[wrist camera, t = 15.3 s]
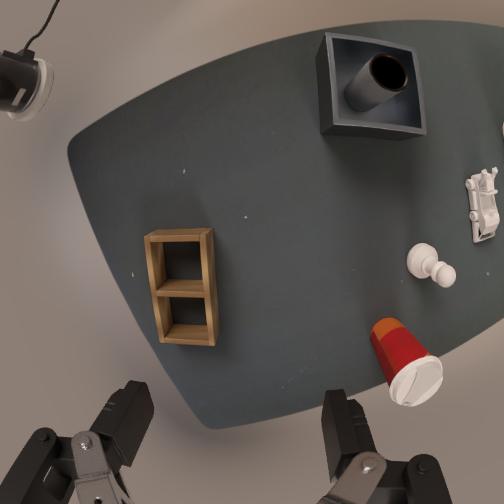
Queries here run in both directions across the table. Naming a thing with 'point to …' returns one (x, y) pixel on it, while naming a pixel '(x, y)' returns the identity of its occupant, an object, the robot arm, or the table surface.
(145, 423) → the robot arm
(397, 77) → the grey hollow cylinder
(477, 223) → the toy car
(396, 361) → the paper cup
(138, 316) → the table surface
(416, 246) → the chess pawn
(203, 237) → the wooden divided box
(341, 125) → the dark grey open box
